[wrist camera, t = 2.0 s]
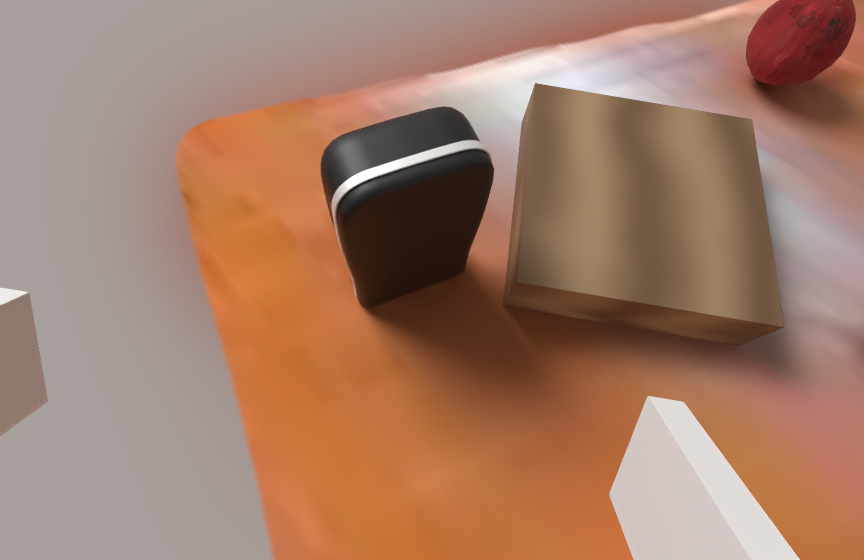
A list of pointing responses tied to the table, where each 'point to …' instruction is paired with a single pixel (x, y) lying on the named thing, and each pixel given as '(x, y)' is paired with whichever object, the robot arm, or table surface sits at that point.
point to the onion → (799, 39)
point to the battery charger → (406, 200)
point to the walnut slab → (641, 218)
